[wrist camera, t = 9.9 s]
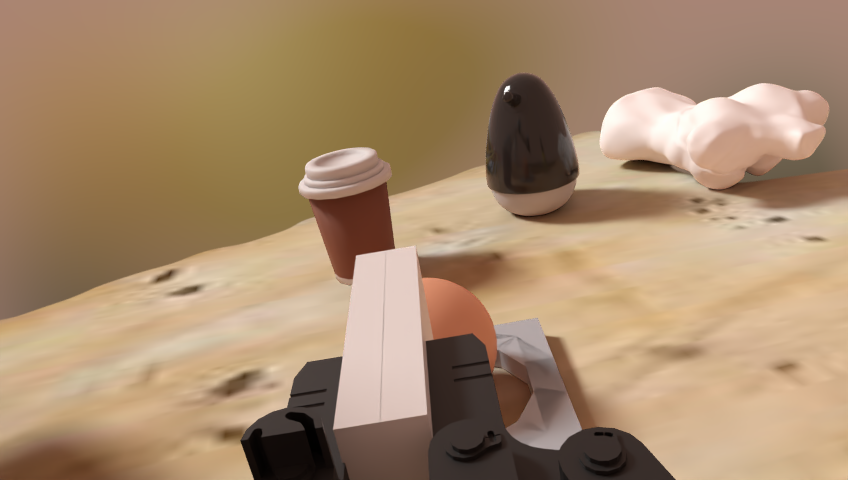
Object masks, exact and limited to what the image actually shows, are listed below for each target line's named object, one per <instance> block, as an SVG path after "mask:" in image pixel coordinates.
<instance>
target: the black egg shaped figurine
mask: <svg viewBox="0 0 848 480" xmlns="http://www.w3.org/2000/svg"><path fill="white" fill-rule="evenodd" d="M486 144H487V145H486V179H487V185H488V187H489V188H490V189H491V190H492V192H493V195H494V197H495V199H496V200H497V201H498V203H499V204H500V205H501V206H502V207H503V208H505V209H506V210H508V211H510V212H512V213H514V214H518V215H523V216H537V215H543V214H547V213H550V212H552V211H555V210H557V209H558V208H560V207H561V206H563V205H564V204H565V203H566V202H567V201H568V200H569V198H570V197H571V195H572V193H573V191H574V189H575V185H576V179H577V177H578V175H579V164H578V158H577V154H576V150H575V146H574V143H573V139H572V136H571V133H570V130H569V127H568V125H567V122H566V120H565V117H564V115H563V112H562V110H561V108H560V105H559V104H558V101H557V100H556V98H555V96H554V94H553V93H552V91H551V90H550V88H549V87H548V86H547V85H546V83H545V82H544V81H543V80H542V79H541V78H539V77H538V76H536V75H533V74H530V73H518V74H515V75H512V76H511V77H509V78H507V79H506V80H505V81H504V82H503V83H502V85H501V86H500V88H499V90H498V92H497V94H496V97H495V99H494V102H493V105H492V109H491V114H490V120H489V126H488V134H487V143H486Z"/></svg>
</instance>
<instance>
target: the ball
mask: <svg viewBox="0 0 848 480" xmlns="http://www.w3.org/2000/svg"><path fill="white" fill-rule="evenodd" d="M422 281H423V286H424V292H425V297H426V302H427V307H428V313H429V318H430V323H431V329H432V334H433V339H434V340H435V339H441V338H447V337H453V336H459V335H465V334H471V333H473V334H474V335H475V336H476V337H477V338H478V339H479V340H480V341H482V342H483V343H484V344H485V345H486V350H487V354H488V358H489V363H490V367H491V372H493V369H494V366H495V362H496V357H497V338H496V332H495V329H494V325H493V322H492V320H491V318H490V315H489V313H488V312H487V310H486V309H485V307H484V305H483V304H482V303H481V302H480V301H479V300H478V298H476V297H475V296H474V295H473V294H472V293H471V292H469V291H468V290H467V289H465V288H464V287H462V286H460V285H458V284H456V283H453V282H451V281H448V280H443V279H439V278H422Z"/></svg>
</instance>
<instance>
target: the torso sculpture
mask: <svg viewBox="0 0 848 480" xmlns="http://www.w3.org/2000/svg"><path fill="white" fill-rule="evenodd" d="M828 114H829V105H828V103H827V102H826V100H825V99H823V98H822V96H821V95H819V94H818V93H816V92H813V91H809V90H802V91H794V90H791V89H788V88H785V87H782V86H778V85H774V84H767V83H762V84H756V85H753V86H751V87H748V88H746V89H744V90H742V91H740V92H738V93H736V94H735V95H733V96H731V97H728V98H724V97H718V98H712V99H708V100H706V101H703V102H701V103H699V104H696V103H695V102H694V101H693V100H691V99H690V98H688V97H685V96H682V95H679V94H675V93H672V92H670V91H668V90H665V89H663V88H659V87H653V88H648V89H645V90H641V91H638V92H634V93H631V94H628V95H626V96H624V97H622V98H620V99H619V100H618V101H616V102H615V103H614V104H613V105H612V106H611V107H610V108H609V110H608V112H607V114H606V116H605V118H604V121H603V125H602V130H601V136H600V147H601V151H602V153H603V154H604V155H605V156H606V157H608V158H610V159H616V160H648V161H652V162H657V163H664V164H670V165H675V166H676V167H679V168H681V169H684V170H687V171H689V172H690V173H691V174H692V175H693V177H694V178H695V179H696V180H697V181H698V182H699V183H700V184H702V185H704V186H706V187H708V188H712V189H726V188H729V187H731V186H733V185H735V184H736V183H738V182H739V181H740V180H742V179H743V178H744V176H745V171H746V172H748V173H750V174H752V175H756V176H760V175H763V174H765V173H767V172H768V171H770V170H771V169H772V168H773V167H774V166H775V165H777V164H778V163H779V162H780V161H781V160H782V159H783V158H784V159H788V160H801V159H805V158H807V157H809V156H811V155H812V154H813V152H814V151H815V149H816V148H817V146H818V145H819V144H820V143H821V141H822V139H823V138H824V136H825V132H826V129H825V127H823V125H824V123H825V122H826V120H827V117H828Z"/></svg>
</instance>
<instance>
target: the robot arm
mask: <svg viewBox="0 0 848 480" xmlns="http://www.w3.org/2000/svg"><path fill="white" fill-rule="evenodd" d="M290 396H291V398H289V402H288V406H287V408H285V409H281V410H277V411H274V412H271V413H269V414H268V415H266V416H264V417H262V418H260V419H258V420H257V421H256V422H255V423H254V424H253V425H251V426H250V427H249V428H248V429H247V430H246V432H245V434H244V435H243V437H242V439H241V440H240V441H241V444H242V446H243V449H244V452H245V455H246V458H247V461H248V464H249V466H250V469H251V472H252V475H253V478H254V480H675V478H674V477H673V476H672V475H671V474H670V473H669V472H668V471H667V470H666V469H665V467H664V466H663V465H662V464H661V463H660V462H659V461H658V460H657V459H656V458H655V456H654V455H653V454H652V453H651V452H650V451H649V450H648V449H647V448H646V447H645V446H644V444H643V443H642V442H640V441H639V440H638V439H636V438H635V437H634V436H632V435H631V434H629V433H626V432H624V431H621V430H618V429H615V428H603V427H595V428H590V429H585V430H581V431H579V432H577V433H575V434H573V435H571V436H569V437H568V438H567V440H566V441H565V442H564V443H563V444H562V446H561V447H560V450H553V449H543V448H537V447H532V446H529V445H527V444H524V443H521V442H520V441H518V440H517V439H515V438H514V437H512V436H511V435H510V433H509V432H508V431H507V430H506V428H505V426H504V423H503V420H502V415H501V411H500V407H499V402H498V398H497V393H496V389H495V385H494V380H493V376H492V372H491V367H490V363H489V358H488V354H487V350H486V345H485V344H484V343H483V342H482V341H480V340H479V339H478V338H477V337H476V336H475V335H474V334H473V333H471V334H465V335H459V336H453V337H447V338H441V339H435V340H434V339H433V334H432V329H431V323H430V318H429V313H428V307H427V302H426V297H425V292H424V286H423V281H422V276H421V270H420V265H419V260H418V255H417V249H416V246H410V247H404V248H398V249H392V250H386V251H380V252H374V253H368V254H362V255H357V256H356V260H355V268H354V275H353V283H352V291H351V298H350V306H349V313H348V321H347V328H346V336H345V343H344V351H343V356H342V357H336V358H330V359H324V360H318V361H312V362H307V363H306V365H305V366H304V367H303V368H302V369H301V371H300V372H299V373H298V374H297V376H296V377H295V378H294V381H293V386H292V390H291V394H290Z"/></svg>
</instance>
